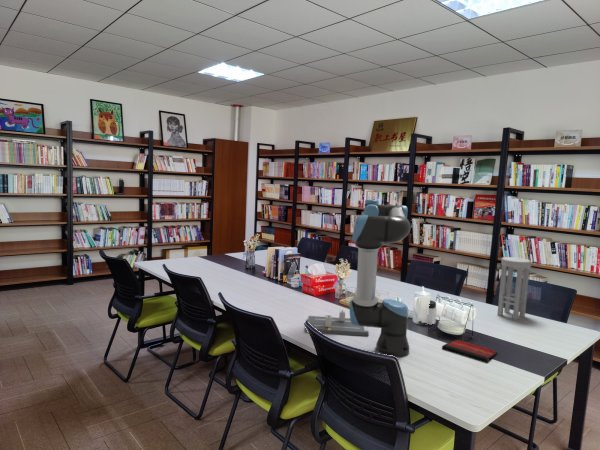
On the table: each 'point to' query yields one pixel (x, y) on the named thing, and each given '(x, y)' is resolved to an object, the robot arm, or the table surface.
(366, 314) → the robot arm
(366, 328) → the console
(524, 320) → the table surface
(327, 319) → the fader
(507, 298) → the stool
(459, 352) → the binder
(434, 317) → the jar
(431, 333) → the table surface
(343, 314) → the fader
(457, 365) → the table surface
